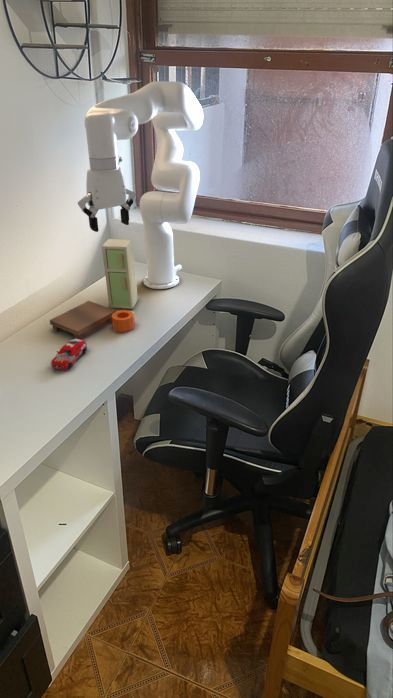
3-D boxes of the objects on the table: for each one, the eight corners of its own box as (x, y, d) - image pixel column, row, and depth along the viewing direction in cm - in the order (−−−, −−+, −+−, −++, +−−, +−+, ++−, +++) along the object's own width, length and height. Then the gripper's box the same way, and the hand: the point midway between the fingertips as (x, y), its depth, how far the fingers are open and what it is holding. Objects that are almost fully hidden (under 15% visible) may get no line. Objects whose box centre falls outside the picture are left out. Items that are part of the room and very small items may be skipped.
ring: (123, 319, 162) (122, 308, 160) (138, 325, 159) (138, 313, 157) (108, 328, 158) (107, 316, 156) (124, 334, 154) (123, 322, 152)
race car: (66, 374, 137) (63, 361, 135) (48, 370, 138) (45, 357, 136) (91, 349, 147) (89, 336, 145) (74, 346, 149) (72, 333, 147)
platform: (90, 310, 168) (88, 300, 166) (117, 320, 162) (116, 310, 160) (51, 330, 157) (49, 320, 155) (79, 341, 151) (77, 331, 149)
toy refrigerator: (107, 308, 169) (100, 246, 158) (114, 299, 175) (108, 238, 164) (131, 310, 167) (126, 247, 157) (138, 300, 174) (133, 239, 163)
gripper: (125, 157, 146) (129, 218, 154) (67, 165, 137) (76, 230, 145) (139, 161, 141) (143, 224, 149) (80, 170, 132) (88, 236, 140)
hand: (110, 227), depth 147 cm, fingers open, 9 cm apart
